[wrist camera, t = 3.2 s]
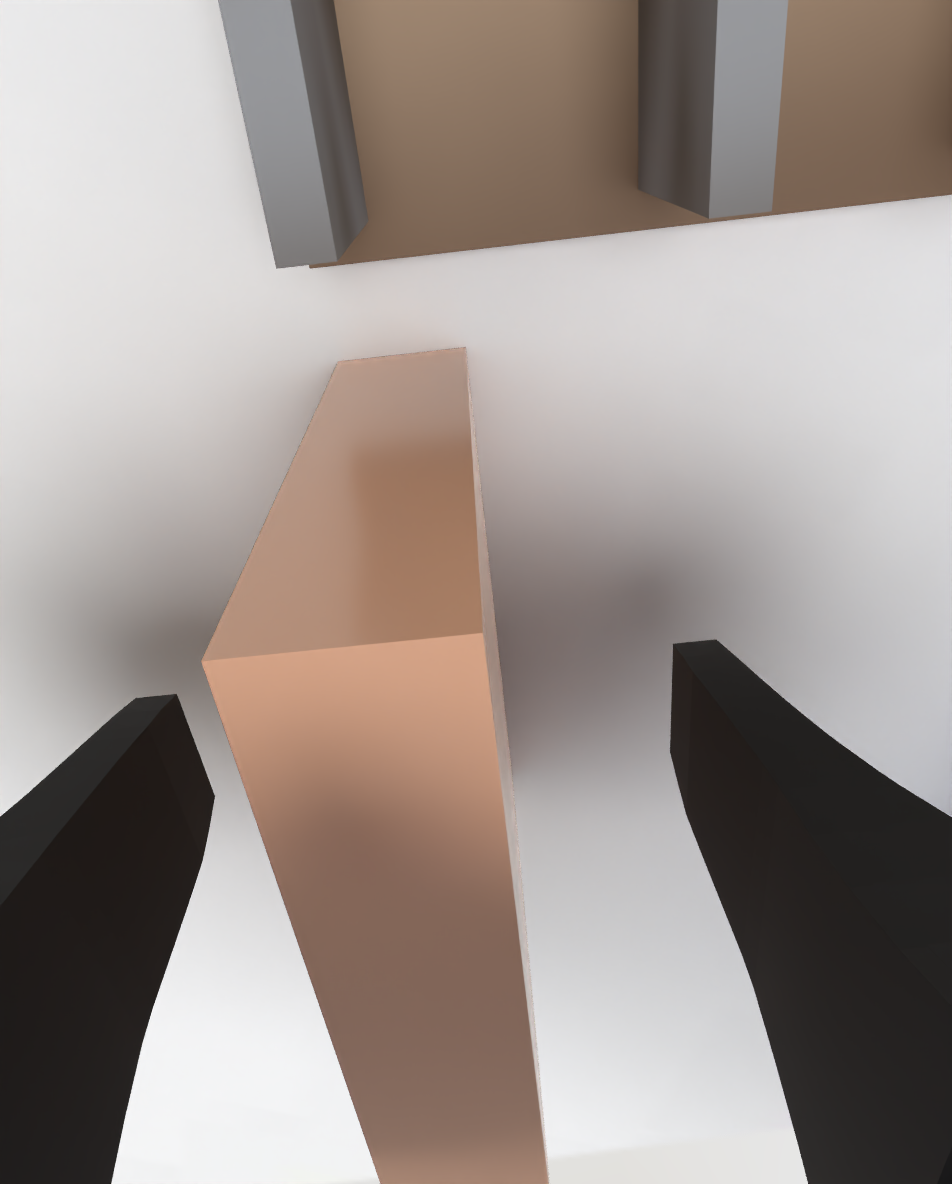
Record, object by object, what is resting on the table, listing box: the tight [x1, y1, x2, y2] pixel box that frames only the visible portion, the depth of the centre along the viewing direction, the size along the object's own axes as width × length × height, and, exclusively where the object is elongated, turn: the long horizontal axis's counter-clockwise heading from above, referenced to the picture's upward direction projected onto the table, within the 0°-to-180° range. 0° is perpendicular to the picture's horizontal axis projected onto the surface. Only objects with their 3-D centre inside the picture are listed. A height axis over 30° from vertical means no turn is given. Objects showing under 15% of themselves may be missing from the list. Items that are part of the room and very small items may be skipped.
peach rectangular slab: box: [201, 347, 550, 1184], centre depth 11 cm, size 9×2×8 cm, turn 6°
